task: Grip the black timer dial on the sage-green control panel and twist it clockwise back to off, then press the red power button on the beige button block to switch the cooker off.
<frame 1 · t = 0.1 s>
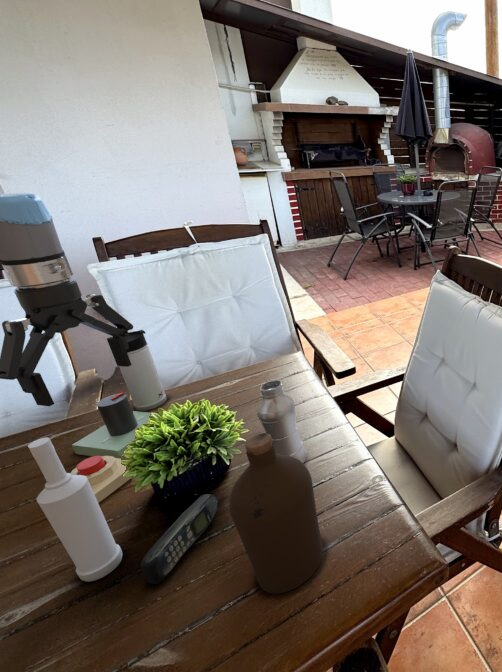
hand: (88, 383, 79), 20 cm above the table, tool pointing down, fingers open, 13 cm apart
power button: (91, 465, 78), point 5 cm above the table, slide at 0.2 cm
travel mug: (152, 404, 104), on the table
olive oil: (292, 564, 65), on the table
control panel: (127, 438, 92), on the table
mobile phone: (190, 541, 69), on the table
bottle: (102, 567, 64), on the table
plastic bottle: (291, 466, 84), on the table
timer dial: (117, 414, 90), point 7 cm above the table, hinge at 90.0°
button block: (99, 483, 80), on the table
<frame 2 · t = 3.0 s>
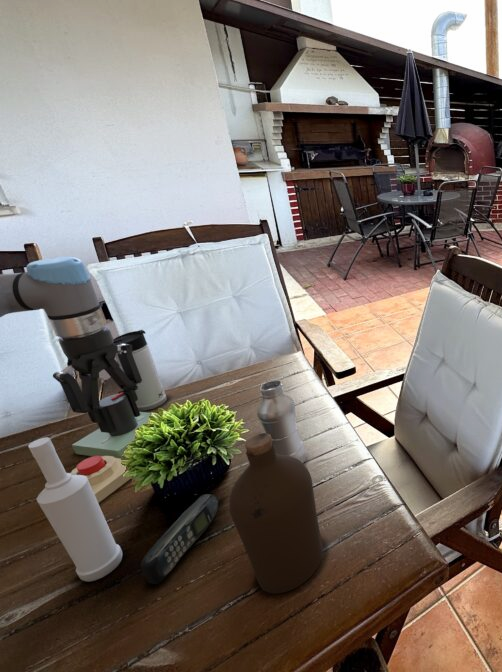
hand: (121, 423, 91), 4 cm above the table, tool pointing down, fingers closed on timer dial, 5 cm apart
timer dial: (117, 414, 90), point 7 cm above the table, hinge at 89.9°, touching gripper
everything else where it was.
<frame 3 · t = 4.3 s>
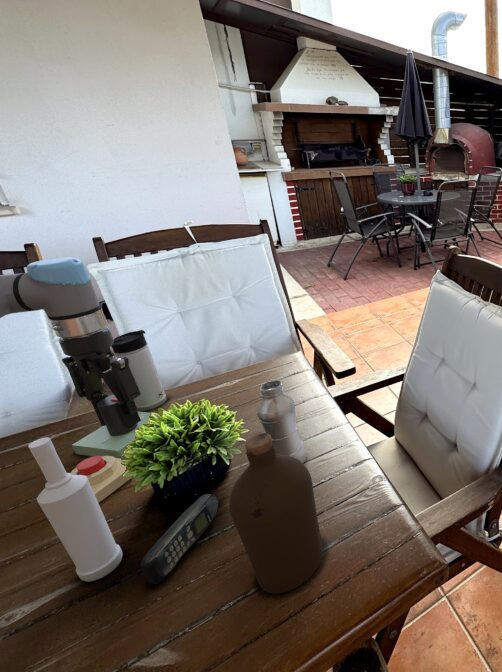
hand: (121, 423, 91), 4 cm above the table, tool pointing down, fingers open, 6 cm apart
timer dial: (117, 414, 90), point 7 cm above the table, hinge at -0.3°
everything else where it was.
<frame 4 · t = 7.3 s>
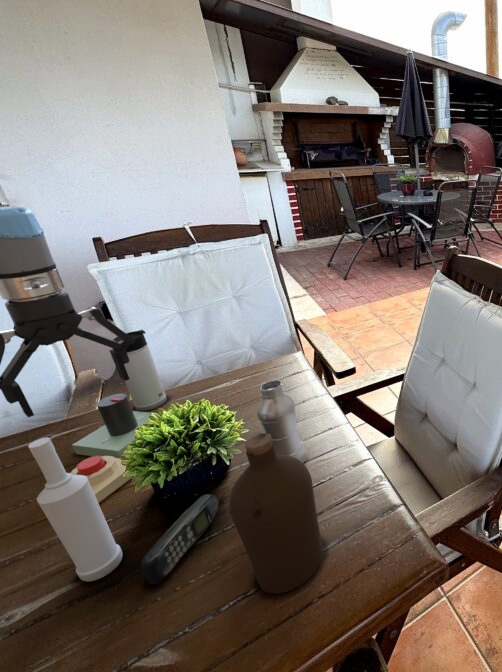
hand: (80, 395, 79), 17 cm above the table, tool pointing down, fingers open, 13 cm apart
nothing on the table moved.
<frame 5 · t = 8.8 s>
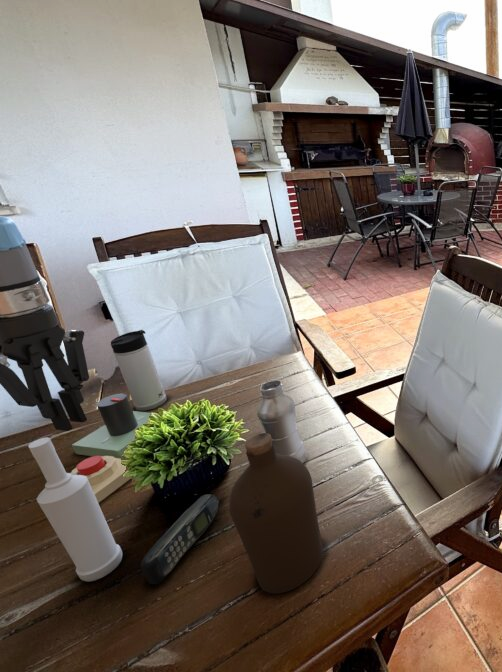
hand: (71, 424, 75), 14 cm above the table, tool pointing down, fingers closed
nothing on the table moved.
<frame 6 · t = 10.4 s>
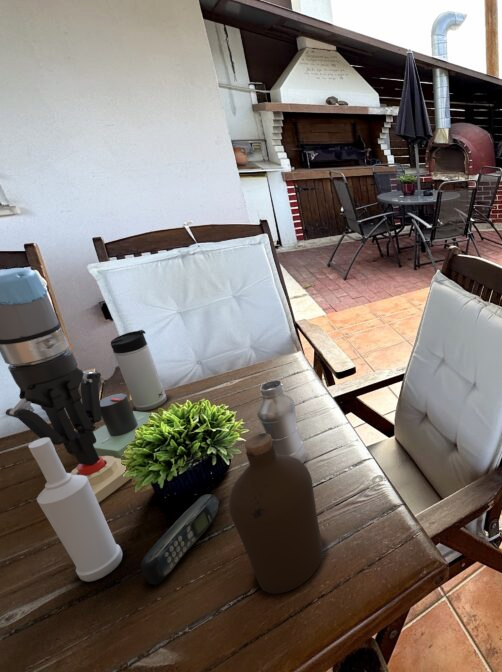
hand: (89, 461, 78), 6 cm above the table, tool pointing down, fingers closed
power button: (91, 466, 78), point 4 cm above the table, slide at 0.1 cm, touching gripper
everything else where it was.
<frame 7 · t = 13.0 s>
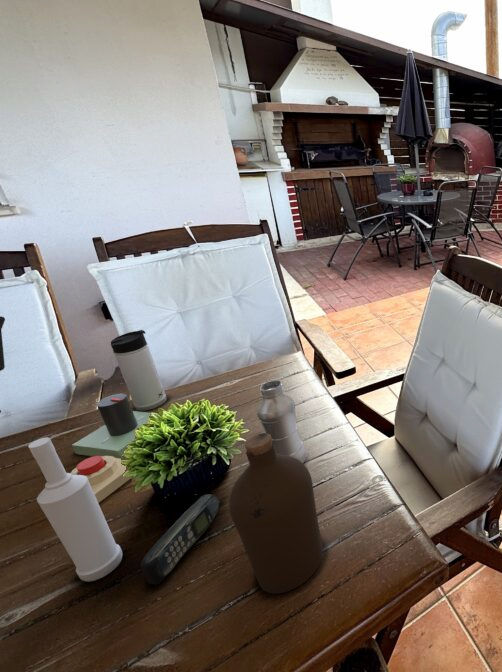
power button: (91, 465, 78), point 5 cm above the table, slide at 0.1 cm
everything else where it was.
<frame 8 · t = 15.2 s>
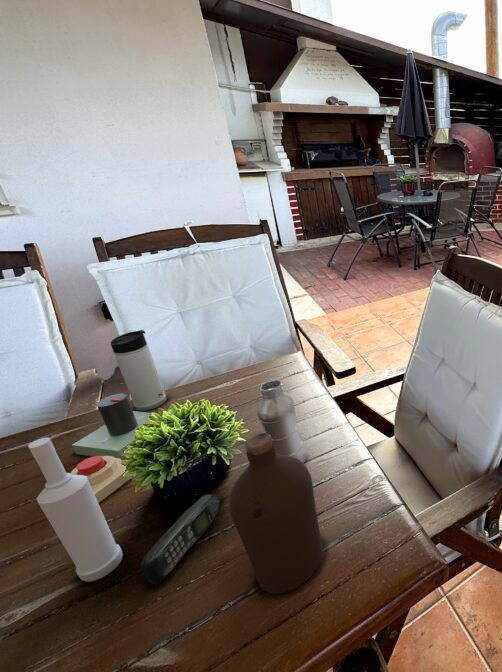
nothing on the table moved.
at the end: timer dial at +0° (first picture: +90°); power button pushed in 1.0 cm at the most during the clip, back to where it started at the end; power button slide at 0.1 cm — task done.
